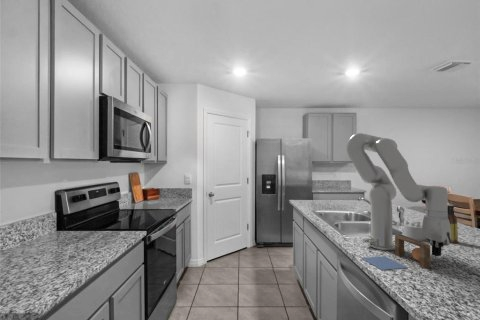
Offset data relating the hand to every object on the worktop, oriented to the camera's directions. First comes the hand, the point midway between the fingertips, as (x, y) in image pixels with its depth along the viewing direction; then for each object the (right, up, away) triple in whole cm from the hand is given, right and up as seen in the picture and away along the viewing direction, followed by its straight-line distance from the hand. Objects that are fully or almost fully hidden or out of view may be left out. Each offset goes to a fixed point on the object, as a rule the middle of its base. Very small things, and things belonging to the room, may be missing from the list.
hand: (436, 255), depth 107 cm
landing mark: (-27, -1, -5) cm, 27 cm away
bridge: (-13, -1, -2) cm, 13 cm away
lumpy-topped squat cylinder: (+12, -2, +31) cm, 33 cm away
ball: (-9, +1, -2) cm, 10 cm away
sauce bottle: (+26, -2, +23) cm, 35 cm away
